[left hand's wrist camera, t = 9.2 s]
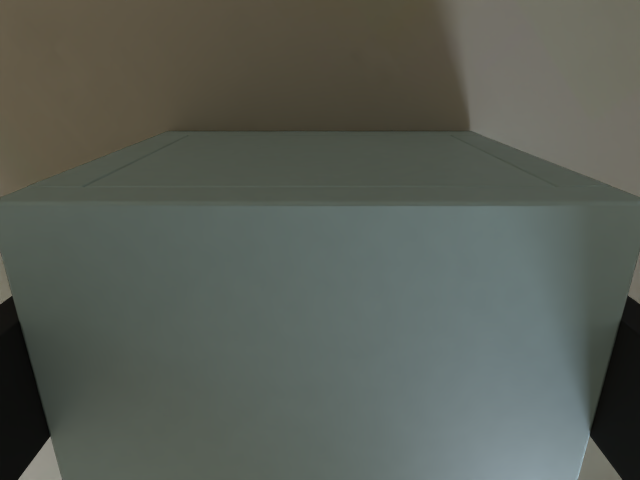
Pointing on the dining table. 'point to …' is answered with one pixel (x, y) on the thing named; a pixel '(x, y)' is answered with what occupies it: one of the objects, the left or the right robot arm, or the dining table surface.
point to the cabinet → (319, 307)
